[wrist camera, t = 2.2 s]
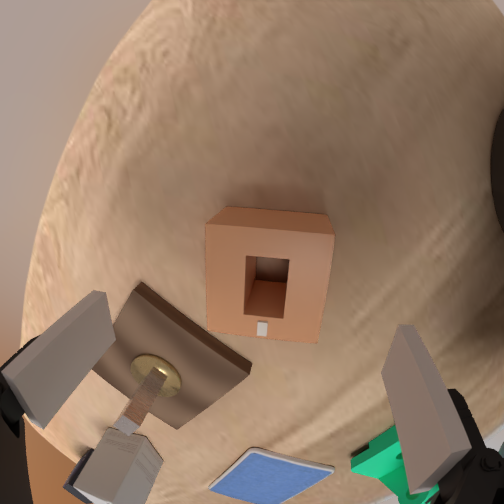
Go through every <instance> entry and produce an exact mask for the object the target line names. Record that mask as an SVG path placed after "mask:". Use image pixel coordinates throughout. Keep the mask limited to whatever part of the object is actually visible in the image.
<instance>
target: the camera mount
mask: <svg viewBox="0 0 504 504" xmlns="http://www.w3.org/2000/svg"><path fill="white" fill-rule="evenodd" d="M351 471H352V472H354V473H358V474H362V475H365V476H369V477H374V478H378V479H379V480H380V481H381V482H382V483H384V484H385V485H386V486H387V487H388V488H389V489H390V490H391V491H392V492H393V493H395V494H396V495H397V496H398V501H399V503H400V504H425V502H426V501H427V500H428V499H429V498H430V497H431V496H432V495H434V494H435V493H436V492H437V491H438V490H439V487H438V483H437V484H436V485H435V486H434V487H433V488H431V489H430V490H429V491H425V492H421V493H416V494H411V495H410V492H409V486H408V480H407V475H406V470H405V465H404V460H403V456H402V451H401V447H400V442H399V438H398V434H397V430H396V425H394V426H393V427H391V428H390V429H388V430H387V431H385V432H384V433H382V434H381V435H379V436H378V437H376V438H375V439H373V440H372V441H370V442H369V449H367V450H366V451H364V452H362V453H360V454H359V455H357V456H355V457H354V458H352V459H351ZM430 502H431V501H430ZM430 502H429V503H428V504H430Z"/></svg>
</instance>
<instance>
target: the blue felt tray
mask: <svg viewBox="0 0 504 504" xmlns="http://www.w3.org/2000/svg"><path fill="white" fill-rule="evenodd" d="M334 470H335V468H334V467H332V466H328V465H324V464H320V463H316V462H312V461H307V460H303V459H299V458H295V457H291V456H287V455H283V454H280V453H276V452H272V451H268V450H264V449H260V448H250V449H248V450H247V451H246V452H245V453H244V454H243V455H242V456H241V457H240V458H239V459H238V460H237V461H236V462H235V463H234V464H233V465H232V466H231V467H230V468H229V469H228V470H227V471H225V472H224V473H223V474H222V475H221V476H220V477H219V478H217V479H216V480H215V481H214V482H213V483H212V484H211V485H209V486H208V489H209V490H211V491H213V492H216V493H219V494H222V495H226V496H229V497H232V498H236V499H239V500H243V501H247V502H251V503H255V504H281V503H283V502H285V501H286V500H288V499H290V498H292V497H294V496H295V495H297V494H299V493H301V492H303V491H304V490H306V489H308V488H310V487H311V486H313V485H315V484H316V483H318V482H320V481H321V480H323V479H324V478H326V477H328V476H329V475H331V474H332V473H334Z"/></svg>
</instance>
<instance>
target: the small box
mask: <svg viewBox="0 0 504 504" xmlns="http://www.w3.org/2000/svg"><path fill="white" fill-rule="evenodd" d="M93 452H94V450H93V449H90V450H89V451H88V452H87V453H86V454H85V455H84V456H83V457H82V458H81V459H80V460H79V462H78V463H77V465H76V466H75V468H74V469H73V471H72V472H71V474H70V476H69V477H68V478H67V480H66V482H65V484H64V486H63V488H64V489H66V490H67V491H68V492H70V493H71V494H73V495H74V496H75V497H77V498H78V499H80V500H81V501H83V502H84V503H86V504H89V503H93V502H92V501H90V500H89V499H88V498H87V497H85V496H84V495H83V494H82V493H80V492H79V491H78V490H77V489H76V488H74V487H73V485H74V483H75V481H76V480H77V478H78V476H79V475H80V473H81V471H82V470H83V468H84V466H85V465H86V463H87V461H88V460H89V458H90V456H91V455H92V453H93Z"/></svg>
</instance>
